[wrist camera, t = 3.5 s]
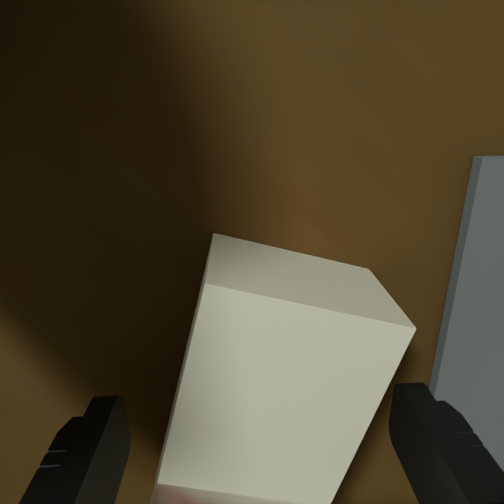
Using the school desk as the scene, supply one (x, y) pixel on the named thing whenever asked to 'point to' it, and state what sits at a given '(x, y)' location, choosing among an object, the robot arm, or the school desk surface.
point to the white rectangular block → (277, 377)
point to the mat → (476, 312)
